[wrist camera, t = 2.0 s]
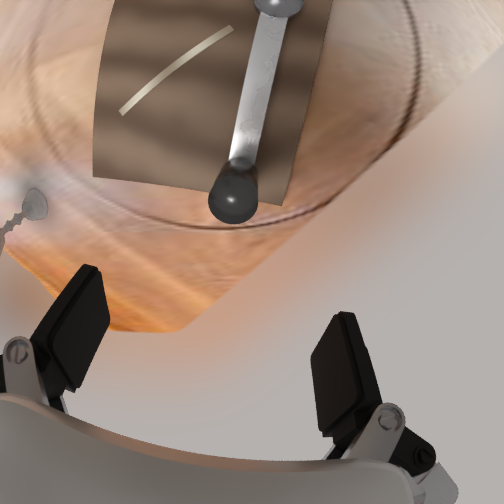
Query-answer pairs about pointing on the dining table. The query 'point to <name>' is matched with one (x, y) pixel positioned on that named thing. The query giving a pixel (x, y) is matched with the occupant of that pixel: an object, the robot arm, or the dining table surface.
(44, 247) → the dining table surface
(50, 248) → the dining table surface
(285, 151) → the lever board
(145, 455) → the robot arm
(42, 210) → the chalice
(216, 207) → the lever
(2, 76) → the dining table surface
